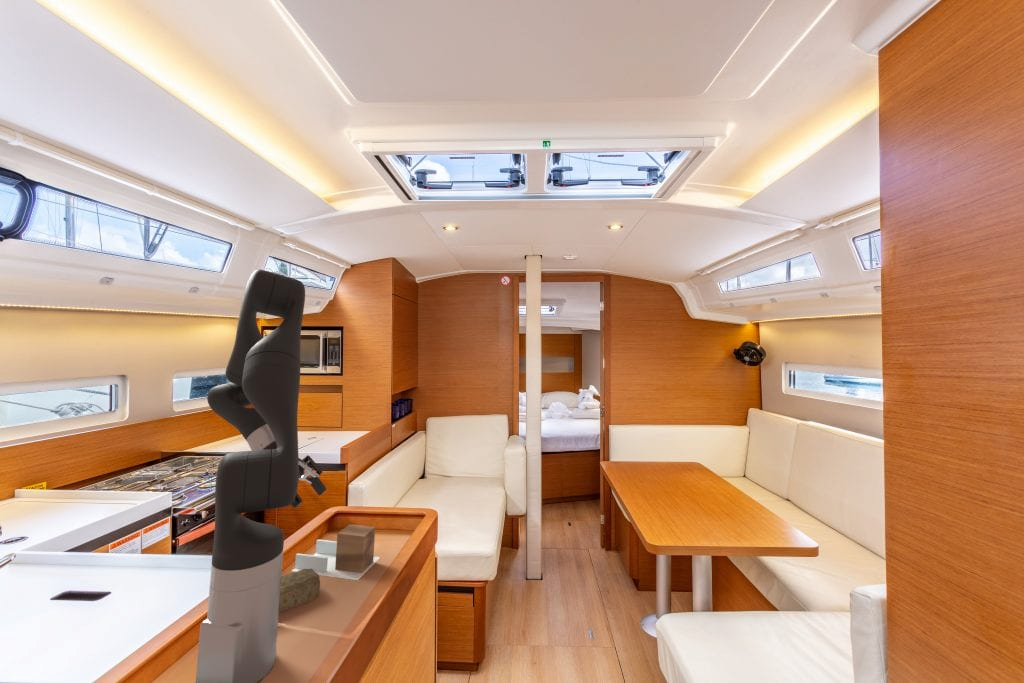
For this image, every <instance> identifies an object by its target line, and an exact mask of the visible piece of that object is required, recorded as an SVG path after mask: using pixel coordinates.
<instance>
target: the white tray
mask: <svg viewBox="0 0 1024 683" xmlns="http://www.w3.org/2000/svg"><path fill="white" fill-rule="evenodd" d="M336 548H337V540H336V541H335V540H334V541H333V540H327V539H316V545H315V553H314V554H306V553H298V552H297V553H296V554H295V561H294V562H295V563H294V565H295V566H294V568H293V569H292V570H291V572H297V571H300V570H303V569H313V570H314V571H315V572H316V573H317V574H318V575H319V576H323V577H331V578H338V579H346V580H352V581H359V579H361V578H362V577H363V576H364V574H366V572H368V571H369V570H370V569H371V568H372V567H373V566H374V565H375V564H376V563H377V562H378V561H379V559H380V558H381V557H380V556H374V558H373V563H372V564H371V565H370V566H369V567H368V568H367V569H366V570H365V571H364V572H363V573H356V572H349V571H341V570H335V564H336Z"/></svg>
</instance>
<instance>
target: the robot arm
mask: <svg viewBox="0 0 1024 683" xmlns="http://www.w3.org/2000/svg"><path fill="white" fill-rule="evenodd" d="M305 302H306V287H305V284H304V283H303V282H302V281H301V280H299V279H296V278H294V277H290V276H286V275H283V274H279V273H276V272H273V271H269V270H265V269H264V270H263V269H256V270H254V271H253V272H252V273H251V275H250V276H249V278H248V280H247V283H246V285H245V289H244V292H243V297H242V302H241V306H240V312H239V316H238V319H237V320H238V322H237V328H236V332H235V333H236V334H235V340H234V345H233V348H232V351H231V354H230V357H229V358H228V359H229V360H228V363H227V366H226V367H225V373H224V374H225V377H226V379H227V380H228V381H229V382H227V383H223V384H219V385H215V386H213V387H212V388H210V390H209V391H208V393H207V396H206V399H207V403H208V406H209V407H210V409H211V410H212V411H213V412H214V413H215V414H216V415H217V416H219V417H220V418H222V419H223V420H225V421H226V422H227V423H229V424H230V425H232V427H234V428H236V429H237V430H238V431H239V433H240V434H241V436H242V437H243V438H244V440H245V441H246V443H247V444H248V447H249V448H250V450H242V451H241V450H240V451H232V452H229V453H227V454H225V455H224V456H223V457H222V458H221V459H220V462H219V464H218V466H217V471H216V475H215V490H214V492H215V493H214V494H215V496H214V497H215V498H214V504H215V506H214V509H215V510H214V531H213V532H214V533H213V534H214V536H213V543H212V544H213V545H212V546H213V548H212V555H211V567H210V568H211V569H210V579H209V580H210V581H209V590H208V591H209V592H208V604H207V616H206V617H207V618H205V620H203V621H202V622H201V623H200V627H199V639H198V652H197V662H196V675H195V683H258V682H259V681H261V680H263V678H265V677H266V676H267V675H268V674H269V673H270V672H271V670H272V668H273V667H274V665H275V663H276V658H277V656H276V654H277V643H278V642H277V641H278V629H279V628H278V626H279V616H280V615H279V614H280V613H279V602H280V588H281V576H282V572H283V559H284V545H285V544H284V543H285V534H284V532H283V530H282V529H281V528H280V527H278V526H277V525H273V524H268V523H264V522H262V523H261V522H259V521H258V522H257V521H254V520H251V519H250V518H247V517H246V516H244V515H243V514H247V513H254V512H261V511H271V510H274V509H280V508H285V507H289V506H292V507H293V508H294V509H295V508H298V507H299V506H300V505H301V504H303V499H302V498H301V496H300V495H299V494H298V488H299V481H302V482H303V481H304V482H306V483H308V484H310V486H311V487H312V488H313V490H314V491H315V493H316V494H317V496H322V495H323V494H324V493H325V492H326V491H327V488H326V485H325V484H324V482H322V479H320V476H321V475H322V473H323V470H322V469H321V468H320V466H319V465H318V464H317V463H316V462H315V461H314V459H312V457H311V456H310V455H306V456H305V457H303V458H300V457H299V436H298V435H299V434H298V431H299V430H298V412H299V411H298V408H299V395H300V387H301V386H300V385H301V384H300V382H301V339H302V338H301V334H302V333H301V332H302V325H303V317H304V310H305ZM258 313H260V314H264V315H270V316H273V317H279V318H282V319H283V320H282V321H281V323H280V324H279V325H278V326H277V327H276V328H275V329H273V330H272V331H271V332H269V333H268V334H266V336H264V337H263V336H262V334H261V331H260V329H259V326H258V323H257V314H258ZM250 406H252V407H250Z"/></svg>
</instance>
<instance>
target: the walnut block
mask: <svg viewBox="0 0 1024 683" xmlns="http://www.w3.org/2000/svg"><path fill="white" fill-rule="evenodd" d="M336 536H337V537H336V542H337V548H336V564H335V570H341V571H349V572H356V573H363V572H364V571H365V570H366V569H367V568H368V567H369V566H370V565H371V564H372V563H373V558H374V555H375V554H374V553H375V540H376V539H375V537H376V526H368V525H359V524H352V523H351V524H348V525H347V526H345V527H344V528H343V529H341V530H340V531H339V532H337V534H336Z"/></svg>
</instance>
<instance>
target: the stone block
mask: <svg viewBox="0 0 1024 683" xmlns="http://www.w3.org/2000/svg"><path fill="white" fill-rule="evenodd" d="M320 576H321V575H318V574H317V573H316V572H315V571H314V570H313V569H303V570H300V571H297V572H294V571H292V572H290V573H288V574H284V575H281V588H280V602H279V614H281V613H282V612H285V611H288V610H292V609H294V608H297V607H298V606H302V605H303V604H306V603H309V602H311V601H314V600H315V599H317V598H318V597H319V593H320V587H321V580H320Z"/></svg>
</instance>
